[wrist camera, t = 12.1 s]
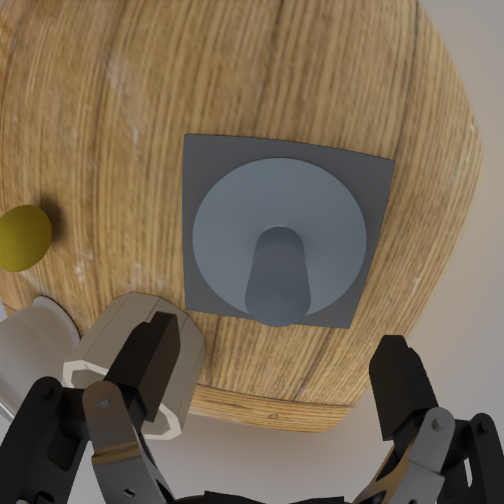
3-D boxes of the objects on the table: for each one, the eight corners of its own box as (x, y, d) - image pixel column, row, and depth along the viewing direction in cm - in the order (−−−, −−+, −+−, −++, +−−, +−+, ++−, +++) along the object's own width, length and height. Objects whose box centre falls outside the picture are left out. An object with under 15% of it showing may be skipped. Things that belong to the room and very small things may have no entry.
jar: (101, 356, 29) (46, 448, 15) (55, 350, 31) (5, 420, 17) (60, 284, 24) (-24, 375, 11) (20, 289, 26) (-47, 357, 13)
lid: (197, 150, 17) (152, 164, 11) (378, 173, 16) (427, 199, 10) (196, 302, 22) (170, 362, 16) (341, 319, 21) (355, 382, 15)
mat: (186, 134, 17) (184, 134, 16) (391, 160, 16) (394, 161, 16) (188, 305, 23) (185, 309, 23) (348, 324, 22) (349, 328, 22)
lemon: (69, 205, 20) (6, 242, 13) (65, 255, 23) (14, 298, 15) (34, 187, 20) (-26, 215, 12) (32, 234, 22) (-19, 269, 15)
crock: (98, 284, 23) (45, 344, 15) (203, 304, 23) (169, 387, 15) (120, 359, 28) (88, 416, 20) (206, 380, 28) (186, 449, 20)
